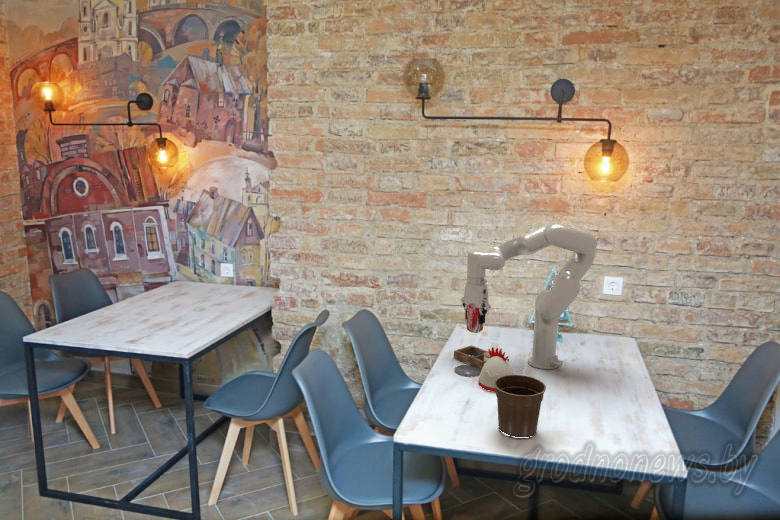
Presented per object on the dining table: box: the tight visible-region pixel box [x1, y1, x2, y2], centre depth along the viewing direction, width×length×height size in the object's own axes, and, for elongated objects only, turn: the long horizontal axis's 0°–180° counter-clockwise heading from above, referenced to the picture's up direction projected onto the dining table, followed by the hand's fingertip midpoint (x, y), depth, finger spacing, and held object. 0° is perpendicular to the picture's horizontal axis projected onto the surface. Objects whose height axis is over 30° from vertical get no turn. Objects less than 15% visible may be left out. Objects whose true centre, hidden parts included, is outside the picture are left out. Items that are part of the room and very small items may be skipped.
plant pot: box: [494, 374, 547, 437], centre depth 194 cm, size 16×16×16 cm
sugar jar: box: [484, 351, 491, 362], centre depth 249 cm, size 5×5×6 cm
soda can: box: [465, 304, 484, 334], centre depth 253 cm, size 7×7×12 cm
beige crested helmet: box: [478, 346, 515, 393], centre depth 230 cm, size 14×14×15 cm
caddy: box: [453, 344, 510, 370], centre depth 253 cm, size 21×11×4 cm, turn 40°
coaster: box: [453, 364, 481, 378], centre depth 244 cm, size 11×11×1 cm
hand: (475, 320), depth 253 cm, fingers closed on soda can, 7 cm apart
